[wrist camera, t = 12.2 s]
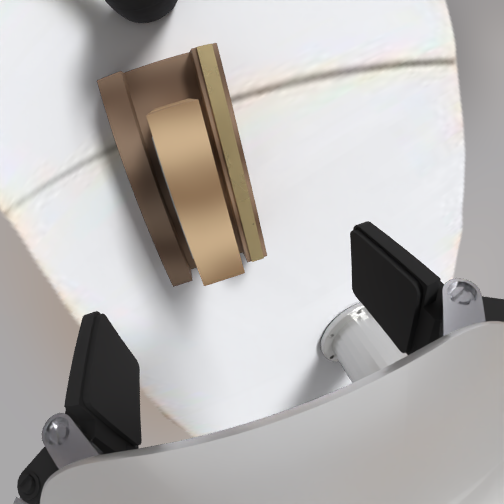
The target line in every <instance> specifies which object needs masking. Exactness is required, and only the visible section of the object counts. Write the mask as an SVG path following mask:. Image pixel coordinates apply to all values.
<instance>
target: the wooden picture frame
mask: <svg viewBox="0 0 504 504" xmlns="http://www.w3.org/2000/svg"><path fill="white" fill-rule="evenodd" d="M146 116H147V120H148V123H149V126H150V130H151V133H152V140H153V143H154V147H155V150H156V153H157V156H158V159H159V163H160V166H161V169H162V172H163V175H164V178H165V181H166V184H167V187H168V190H169V193H170V196H171V199H172V202H173V205H174V208H175V211H176V213H177V216H178V219H179V222H180V225H181V228H182V230H183V233H184V236H185V239H186V242H187V244H188V247H189V250H190V252H191V255H192V258H193V259H194V261H195V263H196V266H197V269H198V271H199V274H200V277H201V279H202V282H203V284H204V286H206V285H210V284H213V283H216V282H219V281H222V280H225V279H228V278H231V277H234V276H237V275H240V274H243V273H245V272H244V268H243V264H242V261H241V257H240V254H239V250H238V246H237V243H236V239H235V235H234V232H233V228H232V224H231V221H230V217H229V213H228V210H227V206H226V202H225V198H224V195H223V191H222V187H221V184H220V180H219V176H218V172H217V169H216V165H215V161H214V157H213V153H212V150H211V146H210V142H209V138H208V134H207V131H206V127H205V123H204V119H203V115H202V111H201V107H200V104H199V100H198V99H186V100H182V101H179V102H175V103H172V104H169V105H166V106H163V107H159V108H156V109H154V110H153V111H151V112H150V113H149V114H148V115H146Z"/></svg>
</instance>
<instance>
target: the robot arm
mask: <svg viewBox="0 0 504 504" xmlns="http://www.w3.org/2000/svg"><path fill="white" fill-rule="evenodd" d="M350 238H351V261H352V289H353V292H354V294H355V296H356V297H357V298H358V300H359V301H360V302H361V303H358V304H356V305H354V306H352V307H350V308H348V309H347V310H345V311H344V312H342V313H341V314H340V315H339V316H337V317H336V318H335V319H334V320H333V321H332V322H331V324H330V325H329V326H328V328H327V329H326V331H325V333H324V335H323V337H322V340H321V350H322V352H323V354H324V356H325V357H326V358H327V359H328V360H330V361H334V362H340V363H341V365H342V367H343V368H344V370H345V371H346V373H347V375H348V376H349V378H350V380H351V381H352V384H350V385H347V386H345V387H343V388H341V389H338V390H336V391H334V392H331V393H329V394H326V395H324V396H322V397H319V398H317V399H314V400H312V401H309V402H307V403H304V404H302V405H299V406H296V407H294V408H291V409H288V410H285V411H283V412H280V413H277V414H274V415H271V416H268V417H265V418H262V419H259V420H256V421H253V422H249V423H246V424H243V425H239V426H236V427H233V428H229V429H225V430H222V431H218V432H214V433H211V434H207V435H203V436H199V437H194V438H190V439H186V440H181V441H177V442H172V443H166V444H161V445H156V446H151V447H145V448H140V449H138V445H140V444H141V424H140V423H141V422H140V383H139V364H138V362H137V360H136V358H135V357H134V356H133V354H132V353H131V352H130V350H129V349H128V347H127V346H126V345H125V343H124V342H123V340H122V339H121V338H120V336H119V335H118V333H117V332H116V330H115V329H114V327H113V326H112V324H111V323H110V321H109V320H108V318H107V317H106V316H105V314H100V313H99V312H98V311H96V312H93V313H90V314H87V315H84V316H83V318H82V322H81V326H80V330H79V334H78V338H77V343H76V347H75V351H74V356H73V361H72V366H71V371H70V376H69V381H68V388H67V393H66V399H65V408H66V412H65V414H64V413H58V414H55V415H53V416H52V417H50V418H49V419H48V420H47V422H46V423H45V425H44V427H43V430H42V441H43V443H44V445H45V447H44V448H43V449H42V450H41V451H40V453H39V454H38V455H37V456H36V457H35V458H34V459H33V461H32V462H31V463H30V464H29V465H28V466H27V468H25V470H24V471H23V472H22V473H21V475H20V477H19V479H18V486H17V488H18V493H19V495H20V499H19V498H17V497H16V499H15V501H14V504H504V299H497V298H489V297H482V295H481V292H480V289H479V288H478V287H477V286H476V285H475V284H474V283H472V282H471V281H469V280H466V279H461V278H457V279H452V280H449V281H448V282H446V283H445V285H444V284H443V283H442V282H441V281H440V278H439V277H438V276H437V275H436V274H434V273H433V272H432V271H431V270H430V269H429V268H427V267H426V266H425V265H424V264H423V263H421V262H420V261H419V260H418V259H417V258H415V257H414V256H413V255H412V254H410V253H409V252H408V251H407V250H405V249H404V248H403V247H402V246H400V245H399V244H398V243H397V242H395V241H394V240H393V239H392V238H390V237H389V236H388V235H386V234H385V233H384V232H383V231H381V230H380V229H379V228H377V227H376V226H375V225H373V224H372V223H371V222H369V221H368V222H364V223H361V224H358V225H356V226H354V229H353V231H351V233H350Z"/></svg>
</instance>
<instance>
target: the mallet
mask: <svg viewBox="0 0 504 504" xmlns="http://www.w3.org/2000/svg"><path fill="white" fill-rule="evenodd" d="M105 1H106V2H107V3H108V4H109V5H110V6H111V7H112V8H113V9H114V10H115V11H116V12H117V13H119V14H120V15H122V16H123V17H125V18H126V19H128V20H130V21H133V22H138V23H146V22H151V21H155V20H157V19H160V18H161V17H163V16H165V15H166V14H167V13H169V12H170V11H171V10H172V9H173V7H174V6H175V4H176V3H177V0H105Z"/></svg>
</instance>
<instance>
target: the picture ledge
mask: <svg viewBox="0 0 504 504" xmlns="http://www.w3.org/2000/svg"><path fill="white" fill-rule="evenodd" d="M97 83H98V86H99V90H100V93H101V97H102V100H103V104H104V107H105V110H106V113H107V117H108V120H109V123H110V126H111V129H112V132H113V136H114V139H115V142H116V145H117V148H118V150H119V153H120V156H121V159H122V162H123V165H124V168H125V170H126V173H127V176H128V179H129V181H130V184H131V187H132V189H133V192H134V195H135V197H136V200H137V203H138V205H139V208H140V210H141V213H142V215H143V218H144V220H145V223H146V225H147V228H148V230H149V232H150V235H151V237H152V240H153V242H154V244H155V247H156V249H157V251H158V254H159V256H160V258H161V261H162V263H163V265H164V267H165V270H166V272H167V274H168V276H169V279H170V281H171V283H172V285H173V287H174V286H177V285H180V284H183V283H186V282H189V281H192V274H191V269H194V268H197V266H196V263H195V261H194V259H193V258H192V255H191V252H190V250H189V247H188V244H187V242H186V239H185V236H184V233H183V230H182V228H181V225H180V222H179V219H178V216H177V213H176V211H175V208H174V205H173V202H172V199H171V196H170V193H169V190H168V187H167V184H166V181H165V178H164V175H163V172H162V169H161V166H160V163H159V159H158V156H157V153H156V150H155V147H154V143H153V140H152V133H151V130H150V126H149V123H148V120H147V116H146V115H148V114H149V113H150V112H151V111H153V110H154V109H156V108H159V107H163V106H166V105H169V104H172V103H175V102H179V101H182V100H186V99H198V100H199V104H200V107H201V111H202V115H203V119H204V123H205V127H206V131H207V134H208V138H209V142H210V146H211V150H212V153H213V157H214V161H215V165H216V169H217V172H218V176H219V180H220V184H221V187H222V191H223V195H224V198H225V202H226V206H227V210H228V213H229V217H230V221H231V224H232V228H233V232H234V235H235V239H236V243H237V246H238V250H239V253H242V252H243V253H244V256H245V258H246V260H247V262H250V261H252V262H254V261H257V260H260V259H263V258H264V257H265V256H267V253H266V248H265V244H264V239H263V235H262V231H261V226H260V222H259V218H258V213H257V209H256V204H255V200H254V196H253V191H252V187H251V183H250V179H249V174H248V170H247V166H246V161H245V157H244V153H243V149H242V145H241V140H240V136H239V132H238V128H237V124H236V120H235V115H234V111H233V107H232V103H231V99H230V95H229V91H228V87H227V83H226V79H225V74H224V70H223V66H222V62H221V58H220V54H219V50H218V46H217V43H214V44H208V45H203V46H199V47H196V48H192V49H191V50H190V52H189V53H185V54H181V55H178V56H174V57H171V58H167V59H164V60H160V61H157V62H154V63H151V64H148V65H145V66H142V67H139V68H136V69H133V70H131V71H128V72H125V73H124V72H122V71H119V72H117V73H114V74H112V75H109V76H107V77H104V78H102V79H99V80H97Z"/></svg>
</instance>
